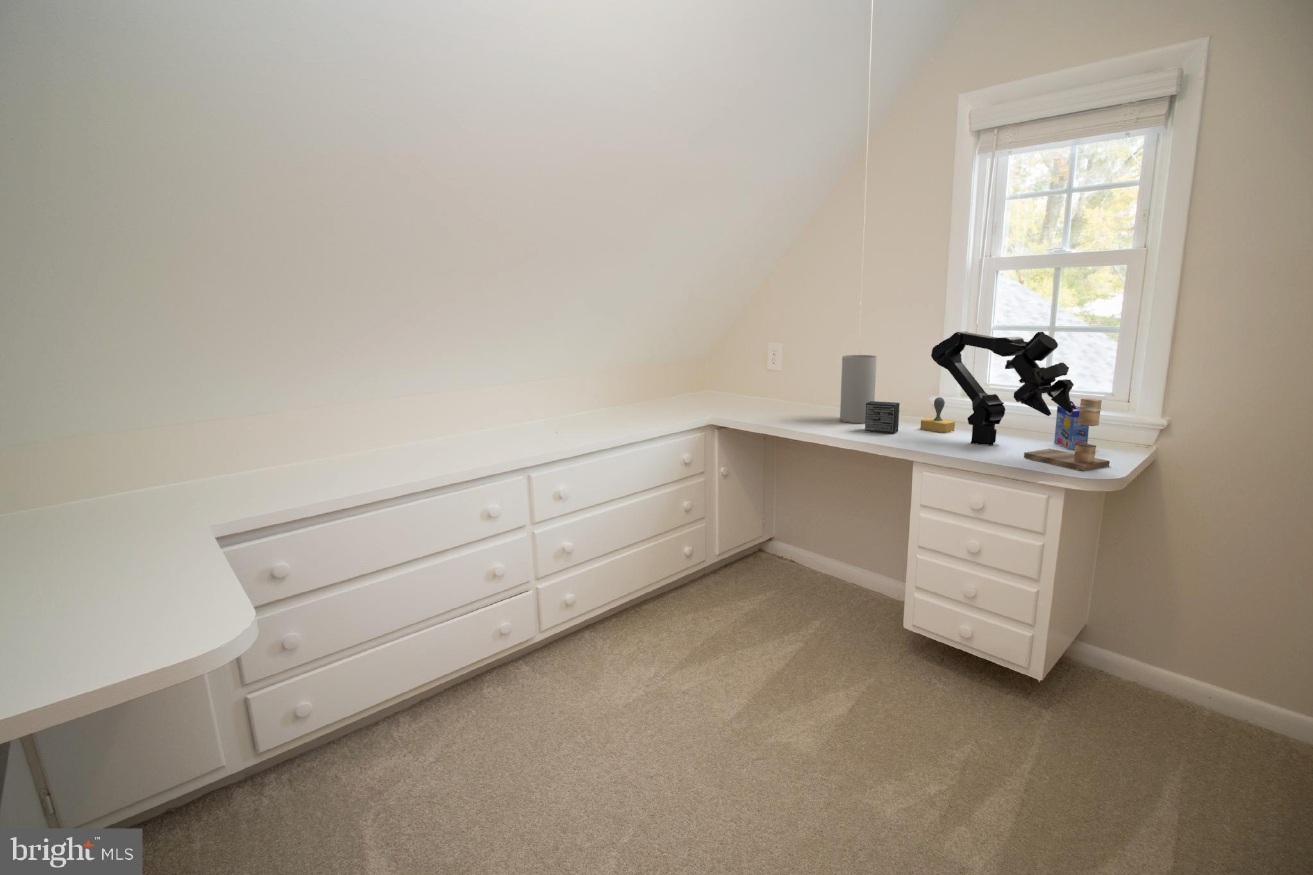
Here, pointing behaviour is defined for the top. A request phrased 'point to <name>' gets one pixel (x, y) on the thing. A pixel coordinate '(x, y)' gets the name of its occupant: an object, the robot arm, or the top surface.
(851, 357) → the cylinder vase
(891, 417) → the small box
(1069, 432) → the ink cartridge box
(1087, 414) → the stub
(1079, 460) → the stand
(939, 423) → the rubber stamp
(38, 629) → the top surface
